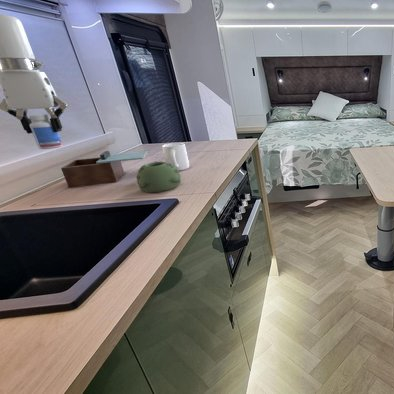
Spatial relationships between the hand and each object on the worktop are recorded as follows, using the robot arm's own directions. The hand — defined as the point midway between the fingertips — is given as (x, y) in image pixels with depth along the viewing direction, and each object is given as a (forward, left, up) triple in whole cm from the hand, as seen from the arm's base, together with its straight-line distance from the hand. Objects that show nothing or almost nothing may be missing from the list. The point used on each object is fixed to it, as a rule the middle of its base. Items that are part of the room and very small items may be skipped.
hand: (44, 131), depth 87 cm
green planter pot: (+26, -3, -21) cm, 34 cm away
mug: (+30, +18, -21) cm, 41 cm away
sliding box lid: (+13, +18, -14) cm, 26 cm away
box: (+3, +17, -21) cm, 28 cm away
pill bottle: (0, 0, -5) cm, 5 cm away
